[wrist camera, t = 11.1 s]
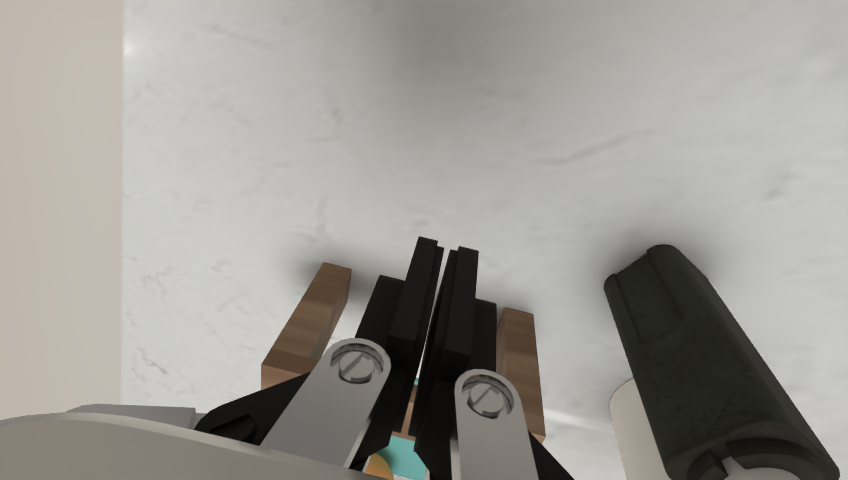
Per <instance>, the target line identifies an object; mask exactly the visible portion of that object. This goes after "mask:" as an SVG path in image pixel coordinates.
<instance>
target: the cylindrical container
mask: <svg viewBox="0 0 848 480" xmlns="http://www.w3.org/2000/svg"><path fill="white" fill-rule="evenodd" d="M609 410H610V415H611V419H612V423H613V427H614V431H615V435H616V439H617V443H618V447H619V450H620V454H621V458H622V462H623V466H624V470H625V474H626V478H627V480H671V479H670V478H669V477H668V476H667V474H666V471H665V469H664V466H663V463H662V460H661V457H660V454H659V451H658V448H657V445H656V442H655V439H654V436H653V433H652V430H651V427H650V424H649V421H648V418H647V415H646V412H645V409H644V406H643V403H642V401H641V398H640V395H639V392H638V389H637V386H636V383H635V380H634V379H631V380H629V381H628V382H626V383H624V384H623V385H622V386H621V387H619V388H618V389H617V390H616V392H615V393H614V394H613V396H612V398H611V400H610V405H609Z"/></svg>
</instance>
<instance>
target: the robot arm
mask: <svg viewBox="0 0 848 480" xmlns="http://www.w3.org/2000/svg"><path fill="white" fill-rule="evenodd" d="M437 243H438V241H436V240H432V239H428V238H424V237H420V236H419V238H418V241H417V244H416V247H415V251H414V254H413V257H412V260H411V264H410V267H409V270H408V273H407V277H406V280H405V281H404V280H400V279H396V278H392V277H388V276H384V275H380V276H379V278H378V280H377V283H376V285H375V288H374V290H373V293H372V295H371V298H370V300H369V303H368V305H367V308H366V310H365V313H364V315H363V318H362V320H361V323H360V325H359V328H358V330H357V333H356V335H355V338H349V339H344V340H340V341H338V342H337V343H335V344H333V345H332V346H331V347H330V348H329V349H328V350H327V351H326V352H325V353H324V355H323V356H322V358H321V359H320V361H319V362H318V363H317V365H316V366H315V368H314V369H313V370H312V371H310V372H308V373H305V374H302V375H300V376H297V377H295V378H292V379H289V380H287V381H284V382H281V383H279V384H276V385H273V386H271V387H268V388H266V389H263V390H260V391H258V392H255V393H252V394H250V395H247V396H244V397H242V398H239V399H237V400H234V401H231V402H229V403H226V404H223V405H221V406H219V407H217V408H215V409H213V410H211V411H210V412H208V413H207V414H203V413H196V411H195V408H186V407H161V406H136V405H111V404H92V405H83V406H80V407H77V408H74V409H71V410H68V411H66V412H61V413H50V414H38V415H27V416H21V417H15V418H10V419H5V420H0V480H391V479H387V478H383V477H379V476H375V475H371V474H367V473H365V471H366V469H367V467H368V464H369V461H370V457H371V455H372V454H374V453H376V452H378V451H380V450H382V449H383V448H385V447H387V446H389V443H390V439H391V435H392V431H393V432H397V433H401V430H402V427H403V423H404V419H405V416H406V412H407V408H408V405H409V401H410V397H411V394H412V390H413V386H414V383H415V379H416V375H417V372H418V368H419V364H420V361H421V357H422V353H423V349H424V345H425V341H426V345H425V350H424V355H423V360H422V365H421V370H420V375H419V380H418V385H417V390H416V395H415V400H414V405H413V410H412V415H411V420H410V425H409V430H408V435H409V436H412V437H416V438H415V444H414V450H413V452H416V453H417V455H418V456H419V458H420V459H421V461H422V462H423V463H424V465H425V466H426V471H425V478H424V480H574V479H573V478H572V476H571V475H570V474H569V473H568V472H567V471H566V470H565V469H564V468H563V467H562V466H561V465H560V464H559V463H558V461H557V460H556V459H555V458H554V457H553V456H552V455H551V454H550V453H549V452H548V451H547V450H546V449H545V447H544V446H543V445H542V444H541V443H540V442H539V441H538V440H537V439H536V438H535V437H534V436H533V435H532V434H531V432H530V431H529V430H528V429H527V425H526V421H525V417H524V412H523V408H522V403H521V399H520V397H519V394H518V392H517V390H516V389H515V388H514V386H513V385H512V384H511V383H510V382H509V381H508V380H507V379H506V378H504V377H503V376H501V375H499V374H497V373H496V331H497V307H496V303H492V302H488V301H484V300H480V299H476V298H475V294H476V281H477V267H478V253H479V251H477V250H473V249H469V248H465V247H461V246H459V248H458V251H455V250H451V249H450V252H449V256H448V259H447V263H446V267H445V270H444V274H443V278H442V282H441V285H440V289H439V293H438V296H437V300H436V304H435V307H434V311H433V315H432V318H431V322H430V317H431V312H432V307H433V302H434V297H435V292H436V287H437V282H438V277H439V272H440V267H441V262H442V257H443V252H444V248H443V247H439V246H437ZM429 322H430V326H429ZM428 327H429V330H428ZM427 332H428V335H427ZM426 336H427V340H426Z"/></svg>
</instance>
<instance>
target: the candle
mask: <svg viewBox="0 0 848 480" xmlns="http://www.w3.org/2000/svg"><path fill="white" fill-rule="evenodd" d="M604 291H605V294H606V297H607V300H608V303H609V306H610V309H611V312H612V315H613V318H614V320H615V323H616V326H617V329H618V332H619V335H620V338H621V341H622V344H623V347H624V350H625V353H626V356H627V359H628V362H629V365H630V368H631V371H632V374H633V377H634V380H635V383H636V386H637V389H638V392H639V395H640V398H641V401H642V403H643V406H644V409H645V412H646V415H647V418H648V421H649V424H650V427H651V430H652V433H653V436H654V439H655V442H656V445H657V448H658V451H659V454H660V457H661V460H662V463H663V466H664V469H665V471H666V474H667V476H668V477H669V478H670V479H671V480H839V477H840V472H839V468H838V467H837V465H836V464H835V463H834V461H833V460H832V458H831V457H830V455H829V454H828V452H827V451H826V450H825V448H824V447H823V445H822V444H821V442H820V441H819V439H818V438H817V437H816V435H815V434H814V432H813V431H812V429H811V428H810V426H809V425H808V424H807V422H806V421H805V419H804V418H803V416H802V415H801V413H800V412H799V411H798V409H797V408H796V406H795V405H794V403H793V402H792V400H791V399H790V398H789V396H788V395H787V393H786V392H785V390H784V389H783V387H782V386H781V385H780V383H779V382H778V380H777V379H776V377H775V376H774V374H773V373H772V372H771V370H770V369H769V367H768V366H767V364H766V363H765V361H764V360H763V359H762V357H761V356H760V354H759V353H758V351H757V350H756V348H755V347H754V346H753V344H752V343H751V341H750V340H749V338H748V337H747V335H746V334H745V333H744V331H743V330H742V328H741V327H740V325H739V324H738V322H737V321H736V320H735V318H734V317H733V315H732V314H731V312H730V311H729V309H728V308H727V307H726V305H725V304H724V302H723V301H722V299H721V298H720V296H719V295H718V294H717V292H716V291H715V289H714V288H713V286H712V285H711V283H710V282H709V281H708V279H707V278H706V276H705V275H703V274H702V273H701V272H700V271H699V270H698V269H697V268H696V267H695V266H694V265H693V264H692V263H691V262H690V261H689V260H688V259H687V258H686V257H685V256H684V255H683V254H682V253H681V252H680V251H679V250H678V249H676V248H675V247H673V246H670V245H658V246H655V247H652V248H651V249H649V250H647V254H646V255H645V256H643V257H642V258H640V259H639V260H637V261H636V262H634V263H633V264H631V265H630V266H629V267H627V268H626V269H624V270H623V271H621V272H620V273H618V274H617V275H614V274H613V275H611V276H610V277H609V278H608V279H607V280H606V282H605V285H604Z"/></svg>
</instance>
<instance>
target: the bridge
mask: <svg viewBox="0 0 848 480" xmlns="http://www.w3.org/2000/svg"><path fill="white" fill-rule="evenodd" d="M351 270H352V269H348V268H343V267H339V266H335V265H331V264H327V263H323V265H322V266H321V268H320V270H319V271H318V273H317V275H316V276H315V278H314V279H313V281H312V283H311V284H310V286H309V288H308V289H307V291H306V293H305V294H304V296H303V297H302V299H301V301H300V302H299V304H298V306H297V307H296V309H295V310H294V312H293V314H292V315H291V317H290V319H289V320H288V322H287V323H286V325H285V327H284V328H283V330H282V332H281V333H280V335H279V337H278V338H277V340H276V341H275V343H274V345H273V346H272V348H271V350H270V351H269V353H268V354H267V356H266V358H265V359H264V361H263V363H262V364H261V390H263V389H266V388H268V387H271V386H273V385H276V384H279V383H281V382H284V381H287V380H289V379H292V378H295V377H297V376H300V375H302V374H305V373H308V372H310V371H312V370H313V369H314V368H315V366H316V365H317V363H318V362H319V361H320V359H321V357H322V355H323V353H324V350H325V348H326V346H327V344H328V342H329V340H330V338H331V335H332V333H333V331H334V329H335V327H336V325H337V323H338V320H339V318H340V316H341V314H342V312H343V310H344V308H345V305H346V303H347V299H348V291H349V284H350V277H351ZM496 373H497V374H499V375H501V376H503V377H504V378H506V379H507V380H508V381H509V382H510V383H511V384H512V385H513V386H514V388H515V389H516V390H517V392H518V394H519V397H520V399H521V403H522V408H523V412H524V417H525V421H526V425H527V429H528V430H529V431H530V432H531V434H532V435H533V436H534V437H535V438H536V439H537V440H538V441H539V442H540V443H541V444H542V442H543V441H544V439H545V437H546V435H545V425H544V416H543V406H542V396H541V386H540V376H539V367H538V357H537V347H536V337H535V327H534V318H533V314H529V313H525V312H521V311H517V310H513V309H509V308H505V309H504V312H503V314H502V317H501V320H500V322H499V325H498V328H497V331H496ZM416 390H417V385H415V384H414V386H413V390H412V394H411V397H410V401H409V405H408V408H407V412H406V416H405V419H404V423H403V427H402V430H401V433H397V432H393V431H392V435H391V436H395V437H399V438H403V439H407V440H411V441H415V438H416V437H412V436H409V435H408V430H409V425H410V420H411V415H412V410H413V405H414V400H415V395H416Z"/></svg>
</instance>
